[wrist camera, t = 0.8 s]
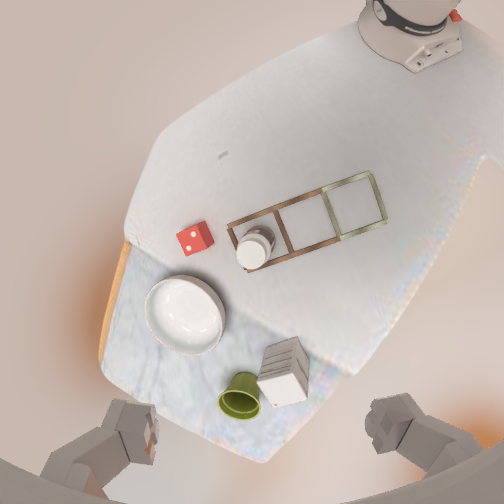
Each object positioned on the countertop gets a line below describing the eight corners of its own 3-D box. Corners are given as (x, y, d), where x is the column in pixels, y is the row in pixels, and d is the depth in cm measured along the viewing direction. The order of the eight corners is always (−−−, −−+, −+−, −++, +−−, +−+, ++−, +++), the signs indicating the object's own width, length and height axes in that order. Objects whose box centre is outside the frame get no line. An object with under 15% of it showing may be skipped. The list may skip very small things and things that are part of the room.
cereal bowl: (237, 339, 62) (229, 357, 56) (169, 338, 66) (156, 354, 59) (224, 264, 58) (213, 276, 52) (151, 269, 62) (134, 281, 55)
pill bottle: (241, 229, 56) (227, 242, 46) (271, 221, 54) (262, 232, 45) (250, 258, 57) (238, 276, 47) (279, 250, 55) (273, 268, 46)
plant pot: (272, 374, 63) (266, 400, 55) (259, 400, 66) (252, 425, 58) (233, 360, 64) (223, 384, 56) (223, 387, 67) (212, 411, 59)
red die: (205, 220, 57) (196, 225, 52) (214, 242, 57) (206, 248, 53) (185, 229, 58) (175, 234, 53) (194, 250, 59) (185, 256, 54)
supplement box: (310, 361, 61) (308, 400, 49) (279, 370, 63) (271, 409, 51) (297, 335, 59) (293, 372, 47) (265, 345, 62) (254, 383, 50)
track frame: (370, 169, 48) (371, 170, 48) (388, 222, 50) (389, 223, 49) (226, 225, 56) (225, 225, 55) (246, 272, 58) (246, 273, 57)
